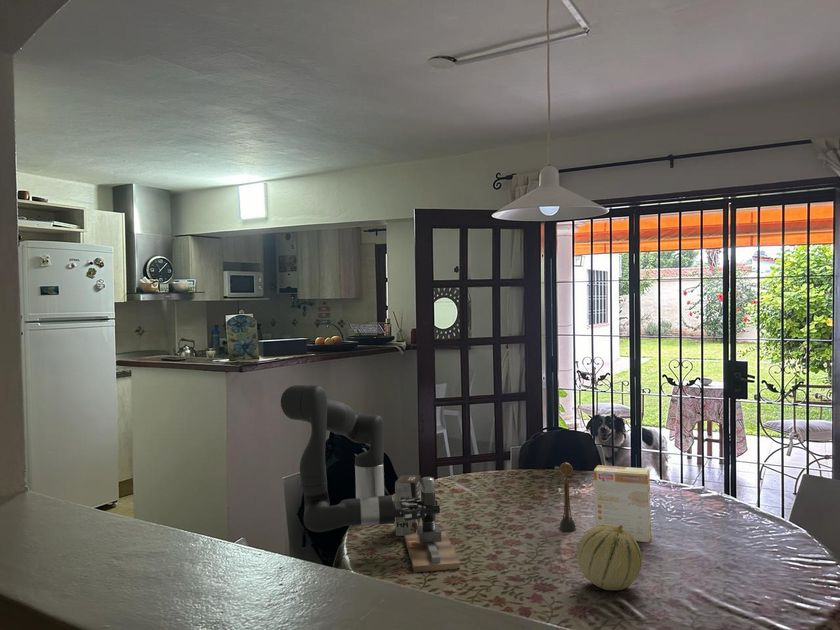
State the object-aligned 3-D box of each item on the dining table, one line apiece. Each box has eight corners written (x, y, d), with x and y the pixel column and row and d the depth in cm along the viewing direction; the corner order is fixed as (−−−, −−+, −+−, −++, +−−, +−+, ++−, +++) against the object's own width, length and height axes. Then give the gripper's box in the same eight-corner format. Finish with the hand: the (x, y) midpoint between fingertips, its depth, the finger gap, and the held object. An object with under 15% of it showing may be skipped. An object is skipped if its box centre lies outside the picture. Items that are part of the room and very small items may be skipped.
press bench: (404, 538, 183) (404, 528, 183) (444, 535, 185) (444, 525, 185) (414, 572, 160) (413, 560, 160) (460, 568, 161) (459, 557, 161)
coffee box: (416, 537, 184) (415, 482, 184) (395, 536, 186) (393, 482, 186) (422, 526, 193) (421, 474, 193) (402, 525, 195) (401, 474, 195)
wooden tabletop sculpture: (554, 529, 188) (552, 463, 188) (558, 524, 192) (556, 459, 192) (573, 532, 185) (572, 465, 185) (577, 527, 189) (575, 461, 189)
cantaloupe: (569, 576, 155) (568, 515, 155) (626, 572, 156) (625, 512, 156) (590, 603, 140) (589, 537, 140) (653, 599, 142) (652, 533, 141)
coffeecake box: (651, 535, 181) (650, 468, 181) (649, 543, 175) (647, 474, 175) (598, 528, 188) (597, 464, 188) (594, 536, 181) (593, 469, 181)
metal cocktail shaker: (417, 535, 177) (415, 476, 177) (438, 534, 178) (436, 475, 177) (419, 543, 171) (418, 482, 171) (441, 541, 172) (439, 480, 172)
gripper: (378, 504, 165) (442, 500, 167) (375, 489, 179) (434, 486, 182) (379, 532, 165) (442, 528, 167) (376, 515, 180) (435, 511, 182)
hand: (438, 506), depth 175 cm, fingers closed on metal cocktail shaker, 4 cm apart
